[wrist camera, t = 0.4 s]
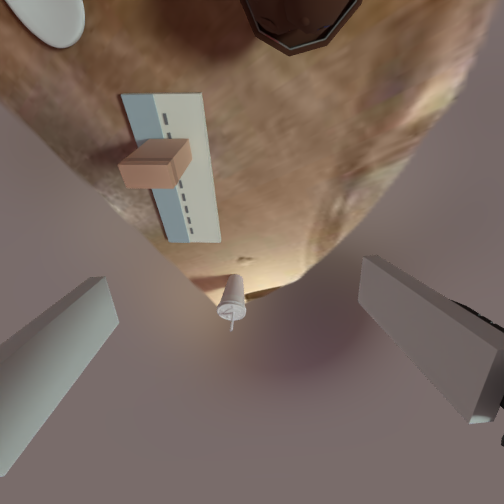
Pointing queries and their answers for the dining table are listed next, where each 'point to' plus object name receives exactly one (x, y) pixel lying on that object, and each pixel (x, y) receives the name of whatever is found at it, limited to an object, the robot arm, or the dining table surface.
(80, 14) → the spoon
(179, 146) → the small tan carton
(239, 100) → the dining table surface
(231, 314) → the smoothie
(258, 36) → the ice cream bowl
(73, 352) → the robot arm
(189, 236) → the board
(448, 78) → the dining table surface
